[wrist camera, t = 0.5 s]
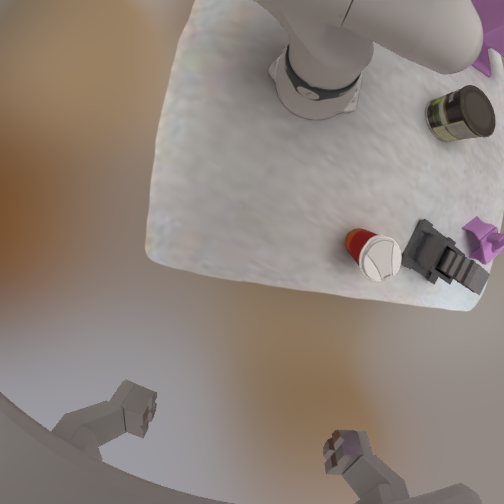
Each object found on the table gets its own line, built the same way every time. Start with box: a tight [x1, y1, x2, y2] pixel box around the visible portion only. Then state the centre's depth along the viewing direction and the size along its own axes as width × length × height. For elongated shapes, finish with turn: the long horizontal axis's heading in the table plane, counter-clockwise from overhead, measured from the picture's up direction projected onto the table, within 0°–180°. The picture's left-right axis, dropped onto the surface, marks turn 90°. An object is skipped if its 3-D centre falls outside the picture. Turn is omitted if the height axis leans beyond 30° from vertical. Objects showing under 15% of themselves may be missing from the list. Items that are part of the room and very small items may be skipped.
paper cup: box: [346, 229, 402, 282], centre depth 46 cm, size 8×8×14 cm
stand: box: [401, 219, 465, 284], centre depth 47 cm, size 11×11×10 cm
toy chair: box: [462, 216, 504, 264], centre depth 43 cm, size 8×9×15 cm
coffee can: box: [426, 85, 495, 142], centre depth 37 cm, size 10×10×14 cm
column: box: [435, 248, 490, 295], centre depth 41 cm, size 4×4×18 cm
